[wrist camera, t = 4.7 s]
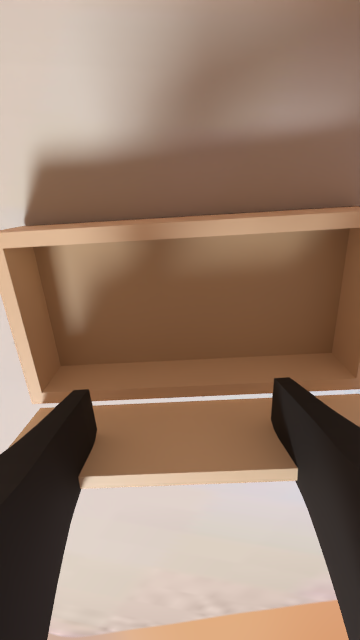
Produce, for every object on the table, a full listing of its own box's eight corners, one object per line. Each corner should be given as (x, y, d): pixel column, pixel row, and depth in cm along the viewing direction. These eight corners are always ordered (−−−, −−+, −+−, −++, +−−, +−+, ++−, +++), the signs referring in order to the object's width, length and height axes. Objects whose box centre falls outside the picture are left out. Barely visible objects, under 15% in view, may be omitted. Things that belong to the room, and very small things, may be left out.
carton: (337, 357, 17) (367, 388, 15) (55, 370, 18) (32, 404, 15) (360, 206, 14) (403, 208, 12) (20, 226, 15) (-17, 233, 12)
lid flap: (358, 394, 14) (357, 405, 15) (40, 408, 15) (42, 419, 15) (433, 463, 10) (430, 477, 10) (-18, 480, 11) (-15, 494, 11)
